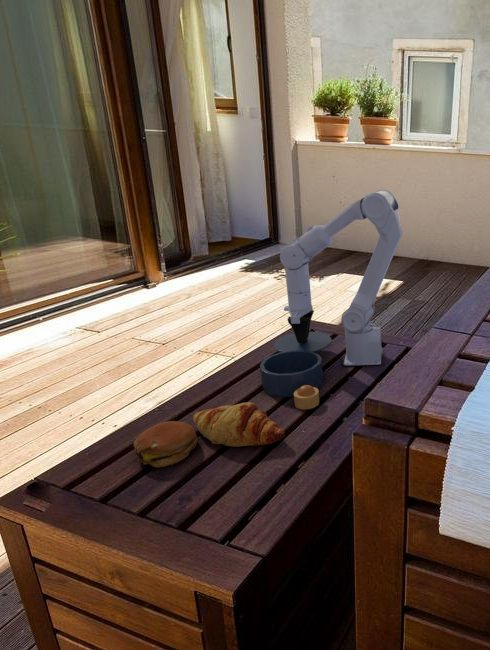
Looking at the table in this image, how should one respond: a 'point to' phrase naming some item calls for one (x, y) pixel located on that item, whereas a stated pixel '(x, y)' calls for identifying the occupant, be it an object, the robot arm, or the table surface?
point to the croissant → (237, 425)
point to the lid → (313, 343)
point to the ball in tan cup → (306, 397)
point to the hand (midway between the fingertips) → (303, 339)
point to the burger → (165, 443)
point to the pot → (290, 372)
